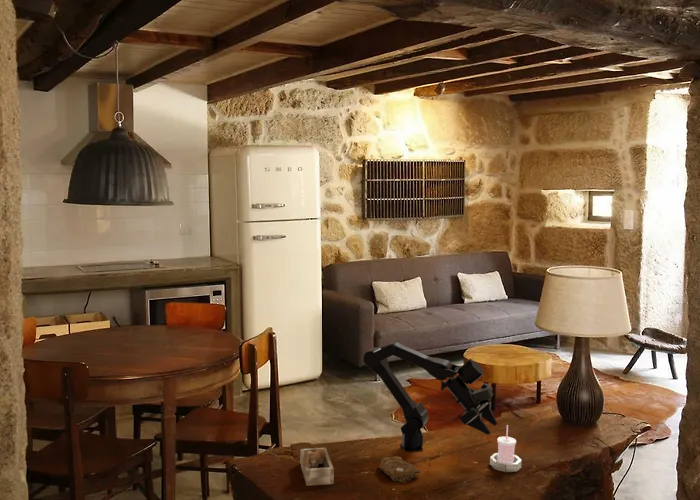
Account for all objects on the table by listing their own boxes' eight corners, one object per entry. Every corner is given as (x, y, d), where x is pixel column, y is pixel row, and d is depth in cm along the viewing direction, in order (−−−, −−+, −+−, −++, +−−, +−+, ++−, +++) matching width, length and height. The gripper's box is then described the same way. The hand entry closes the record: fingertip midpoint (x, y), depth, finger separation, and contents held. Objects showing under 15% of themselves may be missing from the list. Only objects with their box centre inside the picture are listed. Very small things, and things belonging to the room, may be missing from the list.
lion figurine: (314, 482, 219) (314, 455, 218) (298, 480, 221) (298, 452, 220) (331, 464, 233) (331, 438, 232) (316, 462, 235) (316, 436, 234)
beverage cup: (518, 467, 235) (520, 426, 233) (505, 471, 231) (507, 429, 230) (505, 460, 240) (507, 420, 238) (492, 464, 236) (494, 424, 235)
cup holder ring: (497, 472, 230) (497, 465, 230) (486, 460, 239) (486, 453, 239) (525, 470, 232) (525, 463, 231) (513, 459, 241) (513, 452, 241)
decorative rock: (369, 469, 232) (395, 489, 219) (369, 457, 231) (395, 476, 219) (397, 460, 238) (425, 479, 225) (397, 449, 237) (425, 467, 225)
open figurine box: (306, 485, 218) (306, 470, 217) (300, 463, 234) (300, 449, 233) (333, 483, 219) (333, 468, 219) (325, 462, 235) (325, 447, 235)
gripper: (471, 385, 228) (503, 424, 225) (486, 371, 245) (517, 407, 241) (446, 405, 232) (478, 444, 229) (463, 389, 249) (493, 425, 246)
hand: (492, 429), depth 236 cm, fingers open, 9 cm apart
